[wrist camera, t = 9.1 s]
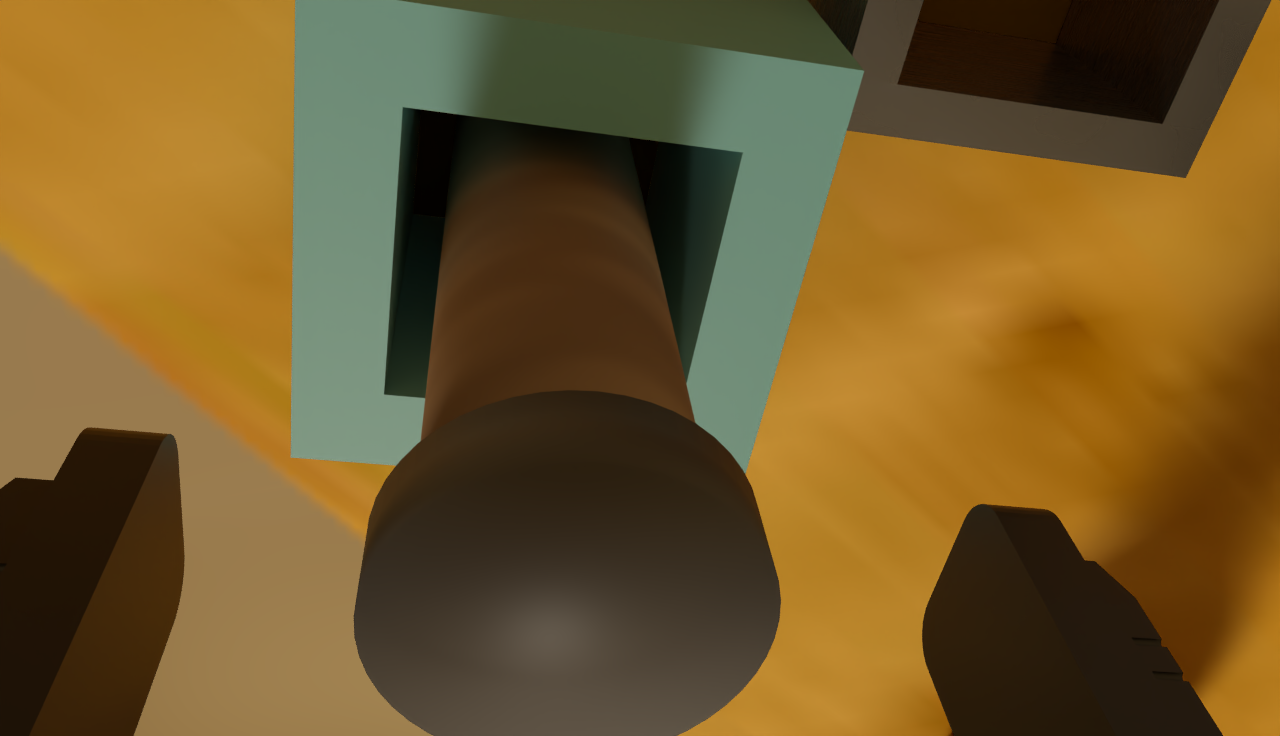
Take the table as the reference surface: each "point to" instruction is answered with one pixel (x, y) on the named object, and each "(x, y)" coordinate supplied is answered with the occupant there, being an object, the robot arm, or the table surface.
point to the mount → (1051, 79)
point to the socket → (570, 99)
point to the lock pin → (559, 474)
